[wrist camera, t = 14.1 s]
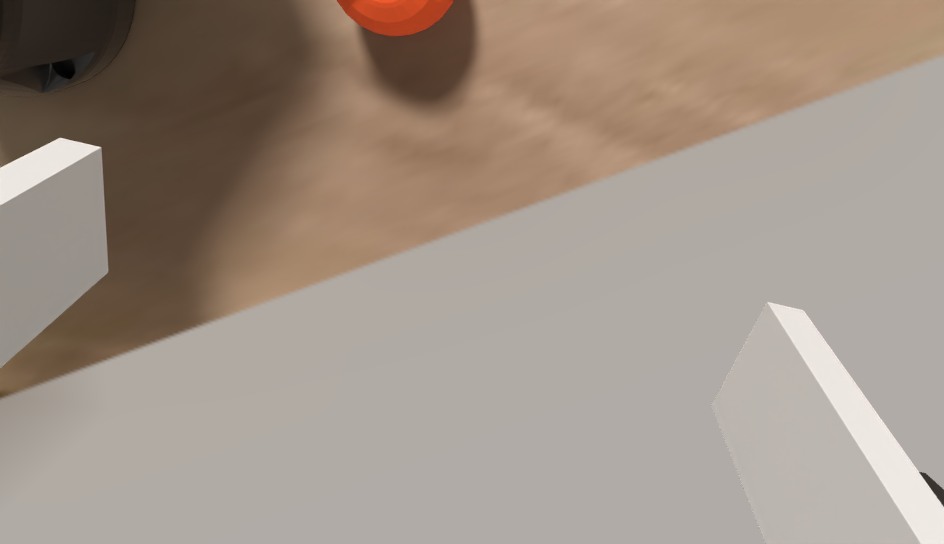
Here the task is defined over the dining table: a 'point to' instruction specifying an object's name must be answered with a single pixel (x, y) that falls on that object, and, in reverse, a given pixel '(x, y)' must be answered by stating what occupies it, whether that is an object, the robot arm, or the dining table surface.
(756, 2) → the dining table surface
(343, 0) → the clementine
